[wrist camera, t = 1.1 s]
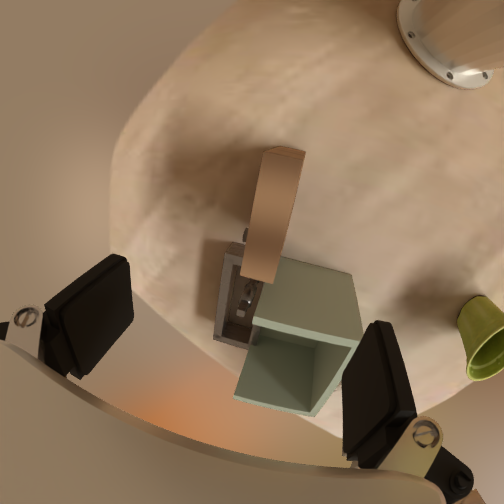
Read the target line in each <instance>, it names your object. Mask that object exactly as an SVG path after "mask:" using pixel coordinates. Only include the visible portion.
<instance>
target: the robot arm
mask: <svg viewBox="0 0 504 504" xmlns="http://www.w3.org/2000/svg"><path fill="white" fill-rule="evenodd" d="M397 23H398V28H399V30H400V33H401V36H402V38H403V40H404V42H405V44H406V46H407V47H408V48H409V50H410V51H411V53H412V54H413V56H414V57H415V58H416V59H417V60H418V61H419V63H420V64H421V65H422V66H423V67H424V68H426V69H427V70H428V71H429V72H430V73H431V74H432V75H434V76H435V77H436V78H438V79H439V80H441V81H443V82H444V83H446V84H448V85H450V86H453V87H456V88H459V89H464V90H470V89H477V88H481V87H483V86H484V85H486V84H487V83H488V82H489V81H490V79H491V77H492V75H493V72H494V69H497V68H502V67H504V0H401V1H400V3H399V5H398V8H397ZM409 36H410V37H409ZM44 306H45V309H46V311H45V312H44V313H43V312H42V310H41V308H39V307H38V306H35V305H25V306H22V307H20V308H19V309H17V310H16V311H15V312H14V313H13V314H12V317H11V319H10V322H3V323H0V504H486V503H485V502H484V500H483V499H482V497H481V496H480V494H479V493H478V491H477V489H474V490H472V487H473V484H474V477H473V474H472V471H471V470H470V469H469V468H468V467H467V466H466V465H465V464H464V463H462V462H461V461H460V460H459V459H457V458H456V457H455V456H454V455H452V454H451V453H450V452H449V451H447V450H446V449H445V448H444V447H442V446H441V445H442V442H443V432H442V429H441V427H440V426H439V424H438V423H437V422H436V421H435V420H433V419H432V418H430V417H426V416H420V417H417V412H416V407H415V403H414V399H413V395H412V391H411V387H410V383H409V379H408V376H407V372H406V368H405V365H404V362H403V358H402V355H401V352H400V348H399V345H398V342H397V339H396V336H395V333H394V330H393V327H392V324H391V323H389V322H384V321H379V320H376V321H375V322H374V323H370V324H369V326H368V327H367V329H366V331H365V333H364V335H363V337H362V339H361V341H360V343H359V345H358V346H357V348H356V350H355V352H354V354H353V355H352V357H351V359H350V361H349V363H348V364H347V366H346V368H345V369H344V371H343V374H342V404H343V452H344V453H347V461H358V467H359V468H336V467H324V466H314V465H306V464H296V463H290V462H284V461H277V460H272V459H266V458H261V457H255V456H251V455H247V454H243V453H238V452H234V451H230V450H226V449H223V448H219V447H216V446H212V445H209V444H206V443H202V442H199V441H196V440H193V439H190V438H187V437H185V436H182V435H179V434H176V433H174V432H171V431H168V430H166V429H163V428H161V427H158V426H156V425H153V424H151V423H149V422H146V421H144V420H142V419H140V418H138V417H135V416H133V415H131V414H129V413H127V412H125V411H122V410H121V409H119V408H117V407H115V406H113V405H111V404H109V403H107V402H105V401H103V400H101V399H99V398H98V397H96V396H94V395H92V394H91V393H89V392H87V391H86V390H84V389H82V388H81V387H79V386H77V385H76V384H74V383H73V382H71V381H69V380H68V379H67V374H68V373H69V372H70V374H71V375H73V376H75V377H76V378H78V379H79V380H81V379H82V377H83V376H84V375H88V374H89V373H90V372H91V371H92V369H93V368H94V367H95V366H96V364H97V363H98V362H99V361H100V360H101V358H102V357H103V356H104V355H105V354H106V352H107V351H108V350H109V349H110V348H111V346H112V345H113V344H114V343H115V341H116V340H117V339H118V338H119V337H120V336H121V335H122V333H123V332H124V331H125V330H126V329H127V328H128V326H129V325H130V324H131V323H132V321H133V318H134V310H133V302H132V290H131V278H130V265H129V262H127V259H126V258H125V257H123V256H120V255H117V254H111V255H109V256H108V257H106V258H105V259H104V260H102V261H101V262H99V263H98V264H97V265H95V266H94V267H92V268H91V269H90V270H88V271H87V272H86V273H84V274H83V275H82V276H80V277H79V278H78V279H76V280H75V281H74V282H72V283H71V284H70V285H68V286H67V287H66V288H65V289H63V290H62V291H61V292H59V293H58V294H57V295H55V296H54V297H53V298H52V299H51V300H49V301H48V302H47V303H46V304H44Z"/></svg>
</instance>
